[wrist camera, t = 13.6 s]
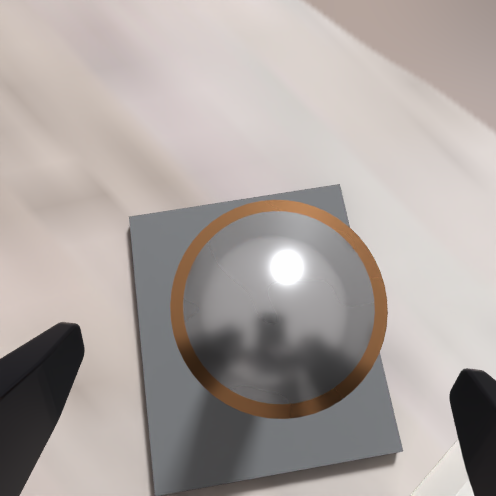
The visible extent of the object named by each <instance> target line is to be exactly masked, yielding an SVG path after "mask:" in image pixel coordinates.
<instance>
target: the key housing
mask: <svg viewBox="0 0 496 496" xmlns="http://www.w3.org/2000/svg"><path fill="white" fill-rule="evenodd" d="M410 496H474V493H473V490H472V487H471V484H470V481H469V478H468V475H467V472H466V469H465V465H464V461H463V457H462V453H461V448H460V444H459V440H457V441H456V443H455V444H454V445H453V446H452V447H451V449H450V450H449V451H448V452H447V453H446V454H445V456H444V457H443V458H442V459H441V460H440V461H439V463H438V464H437V465H436V466H435V467H434V468H433V470H432V471H431V472H430V473H429V474H428V475H427V477H426V478H425V479H424V480H423V481H422V482H421V484H420V485H419V486H418V487H417V488H416V490H415V491H414V492H413V493H412V494H411V495H410Z"/></svg>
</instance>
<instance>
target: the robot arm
mask: <svg viewBox="0 0 496 496" xmlns="http://www.w3.org/2000/svg"><path fill="white" fill-rule="evenodd" d="M83 357H84V343H83V339H82V334H81V329H80V326H79V325H78V324H75V323H67V322H61V323H58V324H56V325H55V326H53V327H51V328H50V329H48V330H46V331H45V332H43V333H42V334H40V335H38V336H37V337H35V338H33V339H32V340H30V341H29V342H27V343H25V344H24V345H22V346H20V347H19V348H17V349H16V350H14V351H12V352H11V353H9V354H7V355H6V356H4V357H3V358H1V359H0V496H19V495H20V494H21V492H22V490H23V488H24V486H25V484H26V482H27V480H28V478H29V476H30V474H31V472H32V470H33V468H34V467H35V465H36V463H37V461H38V459H39V457H40V455H41V453H42V451H43V449H44V447H45V445H46V443H47V442H48V440H49V438H50V436H51V434H52V432H53V430H54V428H55V426H56V424H57V422H58V420H59V418H60V415H61V413H62V411H63V408H64V406H65V403H66V400H67V398H68V395H69V393H70V390H71V388H72V385H73V383H74V380H75V378H76V375H77V372H78V370H79V367H80V365H81V362H82V360H83ZM450 404H451V409H452V413H453V418H454V422H455V426H456V431H457V435H458V440H459V444H460V448H461V453H462V457H463V461H464V465H465V469H466V472H467V475H468V478H469V481H470V484H471V487H472V490H473V493H474V496H496V380H494V379H493V378H492V377H491V376H490V375H488V374H487V373H486V372H484V371H482V370H476V369H468V368H466V369H463V370H462V371H461V372H460V374H459V376H458V378H457V380H456V381H455V383H454V385H453V387H452V389H451V391H450Z"/></svg>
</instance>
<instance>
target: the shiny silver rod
mask: <svg viewBox="0 0 496 496" xmlns="http://www.w3.org/2000/svg"><path fill="white" fill-rule="evenodd" d="M170 311H171V323H172V329H173V334H174V337H175V340H176V344H177V347H178V349H179V351H180V354H181V356H182V358H183V360H184V362H185V363H186V365H187V367H188V368H189V370H190V371H191V373H192V374H193V375H194V377H195V378H196V379H197V380H198V381H199V382H200V384H201V385H202V386H203V387H204V388H205V389H207V390H208V391H209V392H210V393H211V394H212V395H213V396H215V397H216V398H218V399H219V400H221V401H222V402H224V403H225V404H227V405H229V406H231V407H233V408H235V409H237V410H239V411H241V412H245V413H248V414H251V415H254V416H259V417H264V418H272V419H289V418H299V417H303V416H307V415H311V414H315V413H317V412H320V411H322V410H325V409H327V408H329V407H331V406H333V405H334V404H336V403H338V402H339V401H341V400H342V399H344V398H345V397H346V396H347V395H349V394H350V393H351V392H352V391H353V390H354V389H355V388H356V387H357V386H358V385H359V384H360V383H361V382H362V381H363V380H364V378H365V377H366V376H367V374H368V373H369V371H370V370H371V369H372V367H373V365H374V363H375V361H376V359H377V357H378V355H379V352H380V350H381V347H382V344H383V341H384V337H385V332H386V327H387V315H388V311H387V297H386V291H385V285H384V282H383V279H382V276H381V272H380V270H379V268H378V266H377V263H376V261H375V259H374V257H373V256H372V254H371V252H370V251H369V249H368V248H367V246H366V245H365V244H364V242H363V241H362V240H361V239H360V237H359V236H358V235H357V234H356V233H355V232H354V231H353V230H352V229H351V228H350V227H349V226H347V225H346V224H345V223H343V222H342V221H341V220H339V219H338V218H336V217H335V216H333V215H331V214H330V213H328V212H326V211H324V210H321V209H319V208H317V207H314V206H312V205H308V204H305V203H301V202H295V201H289V200H265V201H258V202H253V203H249V204H246V205H243V206H240V207H237V208H234V209H232V210H230V211H228V212H227V213H225V214H223V215H221V216H220V217H218V218H217V219H215V220H214V221H212V222H211V223H210V224H209V225H208V226H206V227H205V228H204V229H203V230H202V231H201V232H200V233H199V234H198V235H197V237H196V238H195V239H194V240H193V241H192V243H191V244H190V246H189V247H188V249H187V250H186V252H185V253H184V255H183V257H182V259H181V261H180V263H179V266H178V268H177V271H176V274H175V277H174V281H173V286H172V291H171V302H170Z"/></svg>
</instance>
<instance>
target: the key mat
mask: <svg viewBox="0 0 496 496" xmlns="http://www.w3.org/2000/svg"><path fill="white" fill-rule="evenodd" d="M265 200H289V201H295V202H301V203H305V204H308V205H312V206H314V207H317V208H319V209H321V210H324V211H326V212H328V213H330V214H331V215H333V216H335V217H336V218H338V219H339V220H341V221H342V222H343V223H345V224H346V225H347V226H349V221H348V217H347V213H346V209H345V205H344V200H343V196H342V192H341V188H340V184H338V185H331V186H325V187H318V188H312V189H305V190H299V191H292V192H286V193H279V194H273V195H267V196H260V197H254V198H247V199H241V200H234V201H228V202H221V203H215V204H208V205H202V206H196V207H189V208H183V209H176V210H170V211H163V212H157V213H150V214H144V215H137V216H131V217H129V222H130V232H131V243H132V254H133V265H134V276H135V286H136V297H137V308H138V319H139V329H140V340H141V351H142V362H143V372H144V383H145V394H146V405H147V415H148V426H149V437H150V448H151V459H152V469H153V480H154V491H155V496H160V495H166V494H171V493H177V492H182V491H188V490H193V489H199V488H204V487H210V486H215V485H221V484H226V483H232V482H237V481H243V480H248V479H254V478H259V477H265V476H270V475H276V474H281V473H287V472H292V471H298V470H303V469H309V468H314V467H320V466H325V465H331V464H336V463H342V462H347V461H353V460H358V459H364V458H369V457H375V456H380V455H386V454H391V453H397V452H402V451H403V449H402V444H401V440H400V436H399V432H398V428H397V423H396V419H395V415H394V411H393V407H392V402H391V398H390V394H389V390H388V385H387V381H386V377H385V373H384V369H383V364H382V360H381V356H380V352H379V355H378V357H377V359H376V361H375V363H374V365H373V367H372V369H371V370H370V371H369V373H368V374H367V376H366V377H365V378H364V380H363V381H362V382H361V383H360V384H359V385H358V386H357V387H356V388H355V389H354V390H353V391H352V392H351V393H350V394H349V395H347V396H346V397H345V398H344V399H342V400H341V401H339V402H338V403H336V404H334V405H333V406H331V407H329V408H327V409H325V410H322V411H320V412H317V413H315V414H311V415H307V416H303V417H299V418H289V419H272V418H264V417H259V416H254V415H251V414H248V413H245V412H241V411H239V410H237V409H235V408H233V407H231V406H229V405H227V404H225V403H224V402H222V401H221V400H219V399H218V398H216V397H215V396H213V395H212V394H211V393H210V392H209V391H208V390H207V389H205V388H204V387H203V386H202V385H201V384H200V382H199V381H198V380H197V379H196V378H195V377H194V375H193V374H192V373H191V371H190V370H189V368H188V367H187V365H186V363H185V362H184V360H183V358H182V356H181V354H180V351H179V349H178V347H177V344H176V340H175V337H174V334H173V329H172V323H171V311H170V302H171V291H172V286H173V281H174V277H175V274H176V271H177V268H178V266H179V263H180V261H181V259H182V257H183V255H184V253H185V252H186V250H187V249H188V247H189V246H190V244H191V243H192V241H193V240H194V239H195V238H196V237H197V235H198V234H199V233H200V232H201V231H202V230H203V229H204V228H205V227H206V226H208V225H209V224H210V223H211V222H212V221H214V220H215V219H217V218H218V217H220V216H221V215H223V214H225V213H227V212H228V211H230V210H232V209H234V208H237V207H240V206H243V205H246V204H249V203H253V202H258V201H265ZM349 227H350V226H349Z"/></svg>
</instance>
